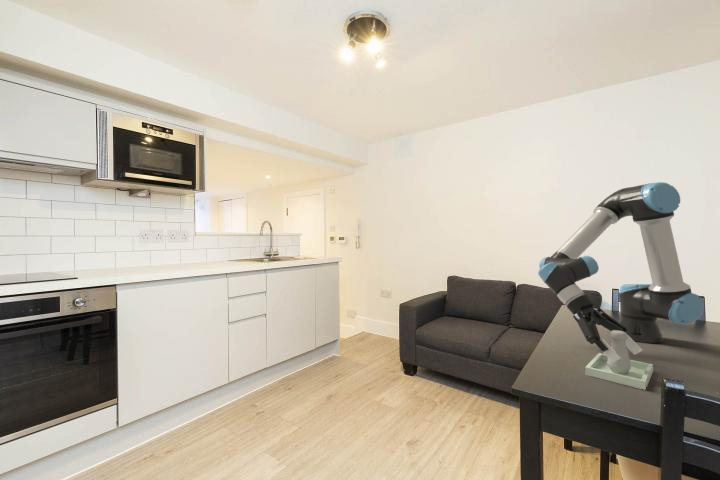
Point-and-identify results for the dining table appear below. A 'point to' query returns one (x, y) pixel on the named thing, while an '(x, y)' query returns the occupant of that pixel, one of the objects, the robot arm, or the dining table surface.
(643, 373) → the tray
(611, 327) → the robot arm
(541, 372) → the dining table surface
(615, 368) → the salt shaker
